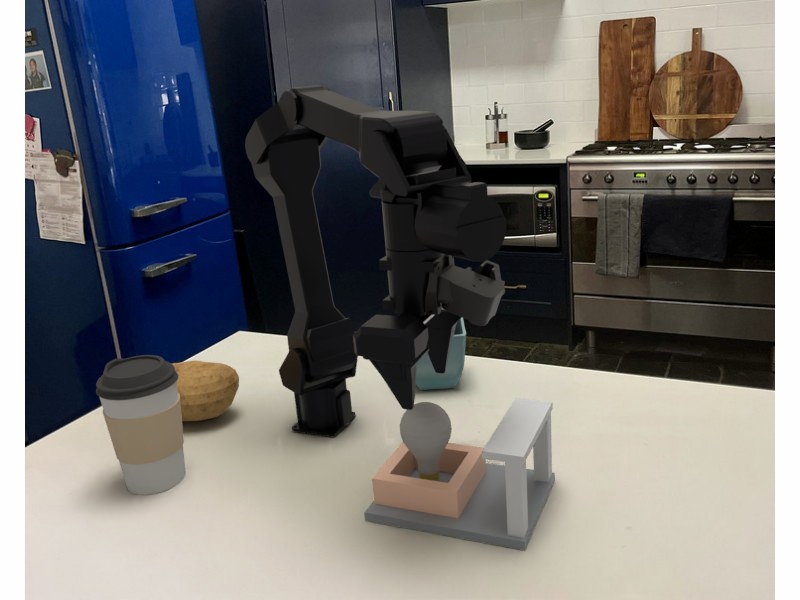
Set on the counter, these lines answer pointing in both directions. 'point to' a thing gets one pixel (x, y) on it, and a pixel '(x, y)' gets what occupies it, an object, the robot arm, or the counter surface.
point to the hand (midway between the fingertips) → (425, 389)
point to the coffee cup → (144, 421)
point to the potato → (205, 389)
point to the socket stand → (474, 484)
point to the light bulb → (426, 436)
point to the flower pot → (450, 378)
